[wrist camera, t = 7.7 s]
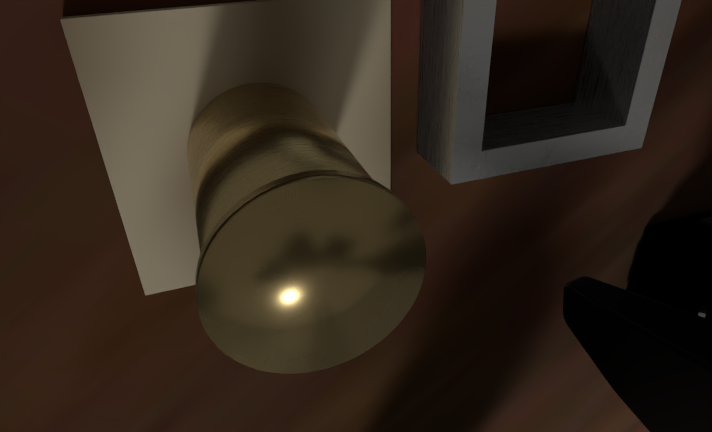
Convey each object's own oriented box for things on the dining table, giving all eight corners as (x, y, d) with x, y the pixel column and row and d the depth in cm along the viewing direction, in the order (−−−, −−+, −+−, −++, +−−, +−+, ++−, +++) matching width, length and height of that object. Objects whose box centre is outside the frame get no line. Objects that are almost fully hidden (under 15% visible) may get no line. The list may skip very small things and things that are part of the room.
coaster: (386, -11, 18) (390, -10, 17) (387, 237, 23) (390, 242, 22) (62, 16, 15) (60, 19, 15) (145, 289, 20) (145, 295, 20)
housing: (636, -98, 19) (708, -99, 16) (590, 122, 23) (641, 147, 21) (424, -88, 17) (470, -88, 14) (416, 152, 21) (451, 184, 19)
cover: (329, 67, 18) (430, 160, 11) (337, 204, 21) (422, 342, 14) (165, 87, 16) (172, 206, 10) (196, 231, 19) (219, 397, 13)
